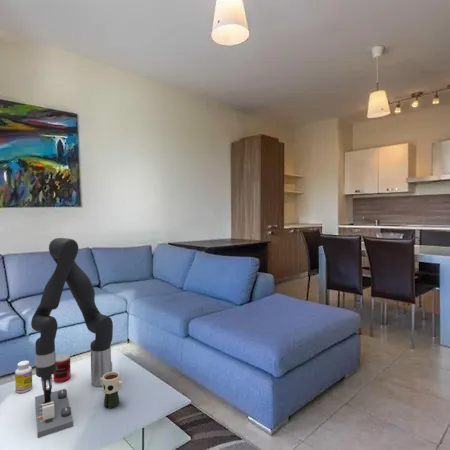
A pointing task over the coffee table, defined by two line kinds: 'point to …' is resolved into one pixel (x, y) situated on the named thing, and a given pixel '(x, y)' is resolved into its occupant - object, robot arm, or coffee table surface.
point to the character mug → (111, 388)
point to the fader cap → (48, 410)
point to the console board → (60, 412)
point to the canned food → (62, 368)
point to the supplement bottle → (23, 377)
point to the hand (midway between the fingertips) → (47, 401)
